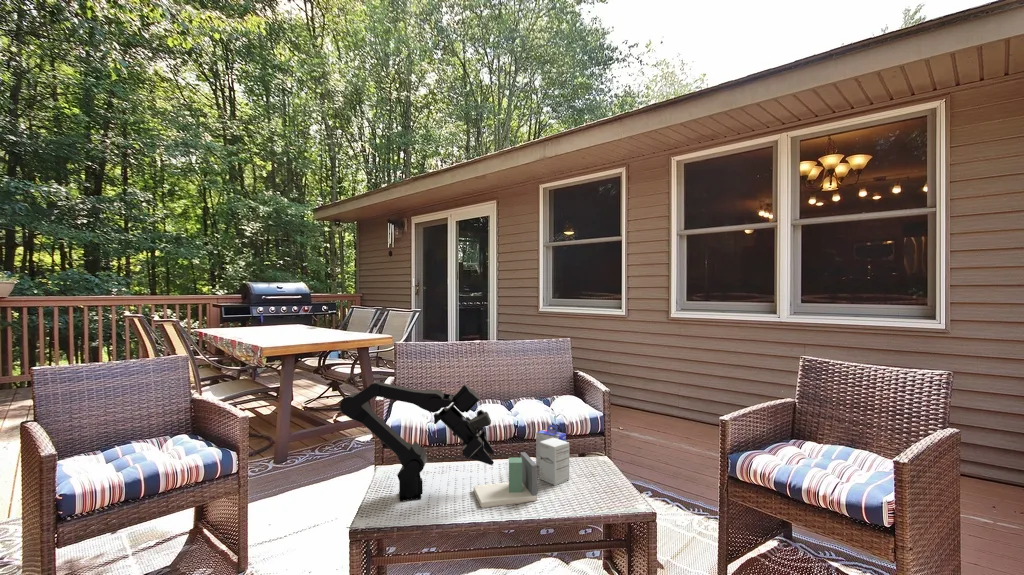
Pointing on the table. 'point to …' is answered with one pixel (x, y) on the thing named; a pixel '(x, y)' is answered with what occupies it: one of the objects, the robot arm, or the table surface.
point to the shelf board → (500, 491)
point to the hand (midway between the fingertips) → (493, 458)
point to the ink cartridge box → (546, 435)
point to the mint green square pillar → (515, 474)
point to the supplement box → (554, 461)
